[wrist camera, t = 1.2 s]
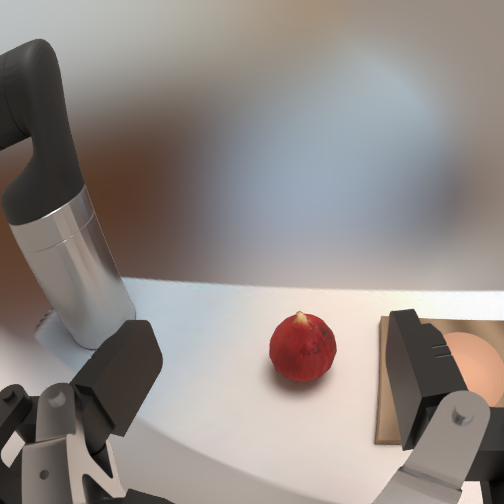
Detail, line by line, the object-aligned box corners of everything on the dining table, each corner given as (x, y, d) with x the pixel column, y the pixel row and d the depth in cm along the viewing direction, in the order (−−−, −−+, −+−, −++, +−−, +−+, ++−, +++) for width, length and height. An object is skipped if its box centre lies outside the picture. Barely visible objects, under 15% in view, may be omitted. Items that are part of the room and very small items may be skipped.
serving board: (374, 444, 21) (378, 438, 20) (379, 323, 32) (381, 314, 31) (535, 429, 16) (543, 423, 15) (511, 327, 27) (516, 319, 26)
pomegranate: (338, 354, 29) (347, 297, 25) (322, 403, 25) (329, 352, 21) (284, 341, 32) (281, 284, 27) (262, 386, 27) (253, 333, 23)
